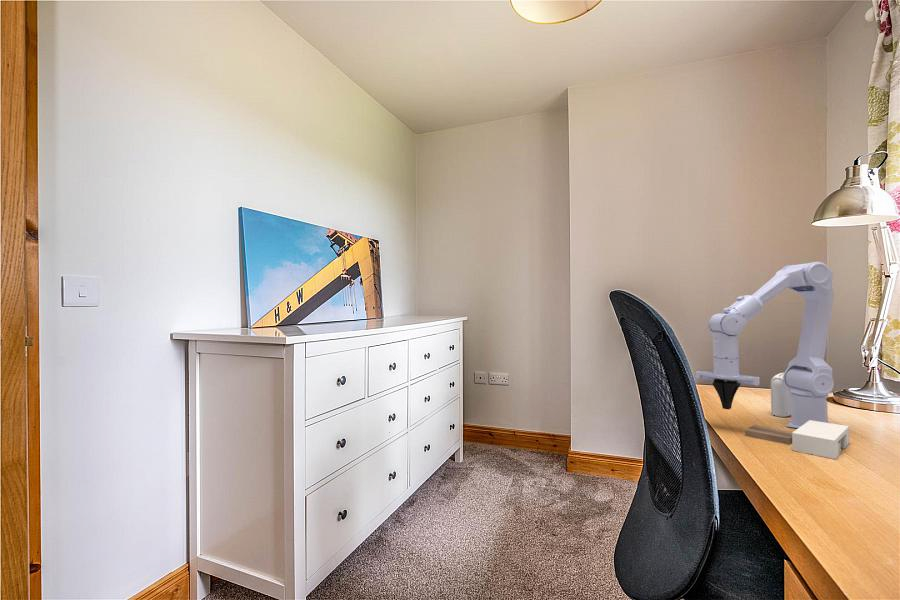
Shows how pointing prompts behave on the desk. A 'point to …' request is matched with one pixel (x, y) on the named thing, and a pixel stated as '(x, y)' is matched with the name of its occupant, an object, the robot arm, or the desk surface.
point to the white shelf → (820, 439)
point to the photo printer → (780, 397)
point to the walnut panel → (769, 434)
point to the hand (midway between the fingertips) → (726, 408)
